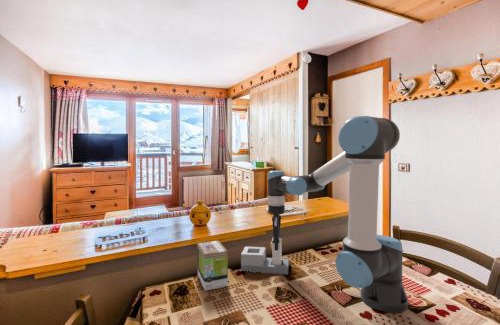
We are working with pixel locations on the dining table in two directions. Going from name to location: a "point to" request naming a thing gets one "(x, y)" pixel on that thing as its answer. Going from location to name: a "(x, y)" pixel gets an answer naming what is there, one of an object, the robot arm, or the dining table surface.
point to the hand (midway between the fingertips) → (277, 254)
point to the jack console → (261, 262)
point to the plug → (276, 259)
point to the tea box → (212, 265)
